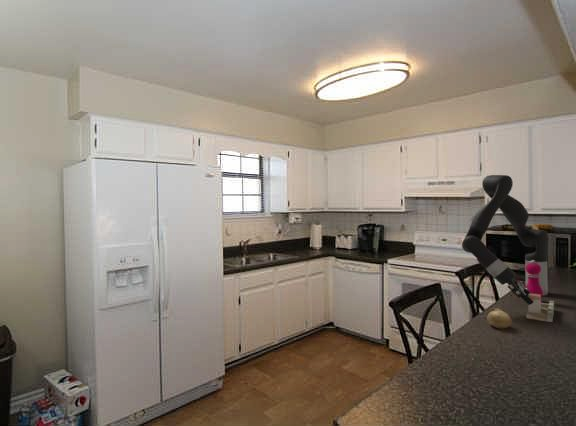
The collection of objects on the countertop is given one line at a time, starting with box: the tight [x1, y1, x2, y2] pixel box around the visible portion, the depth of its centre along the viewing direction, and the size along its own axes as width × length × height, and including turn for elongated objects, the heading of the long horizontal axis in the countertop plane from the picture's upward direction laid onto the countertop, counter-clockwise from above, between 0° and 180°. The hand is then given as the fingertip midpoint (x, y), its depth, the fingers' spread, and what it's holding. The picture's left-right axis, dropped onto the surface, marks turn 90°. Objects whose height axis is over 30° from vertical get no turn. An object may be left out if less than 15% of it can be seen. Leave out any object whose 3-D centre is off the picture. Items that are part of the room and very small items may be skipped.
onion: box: [486, 307, 512, 330], centre depth 133 cm, size 8×8×7 cm
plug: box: [528, 293, 542, 313], centre depth 144 cm, size 4×4×9 cm
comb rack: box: [525, 300, 555, 323], centre depth 146 cm, size 18×8×4 cm, turn 140°
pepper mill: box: [525, 260, 543, 303], centre depth 163 cm, size 7×7×20 cm
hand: (532, 301), depth 144 cm, fingers open, 8 cm apart
